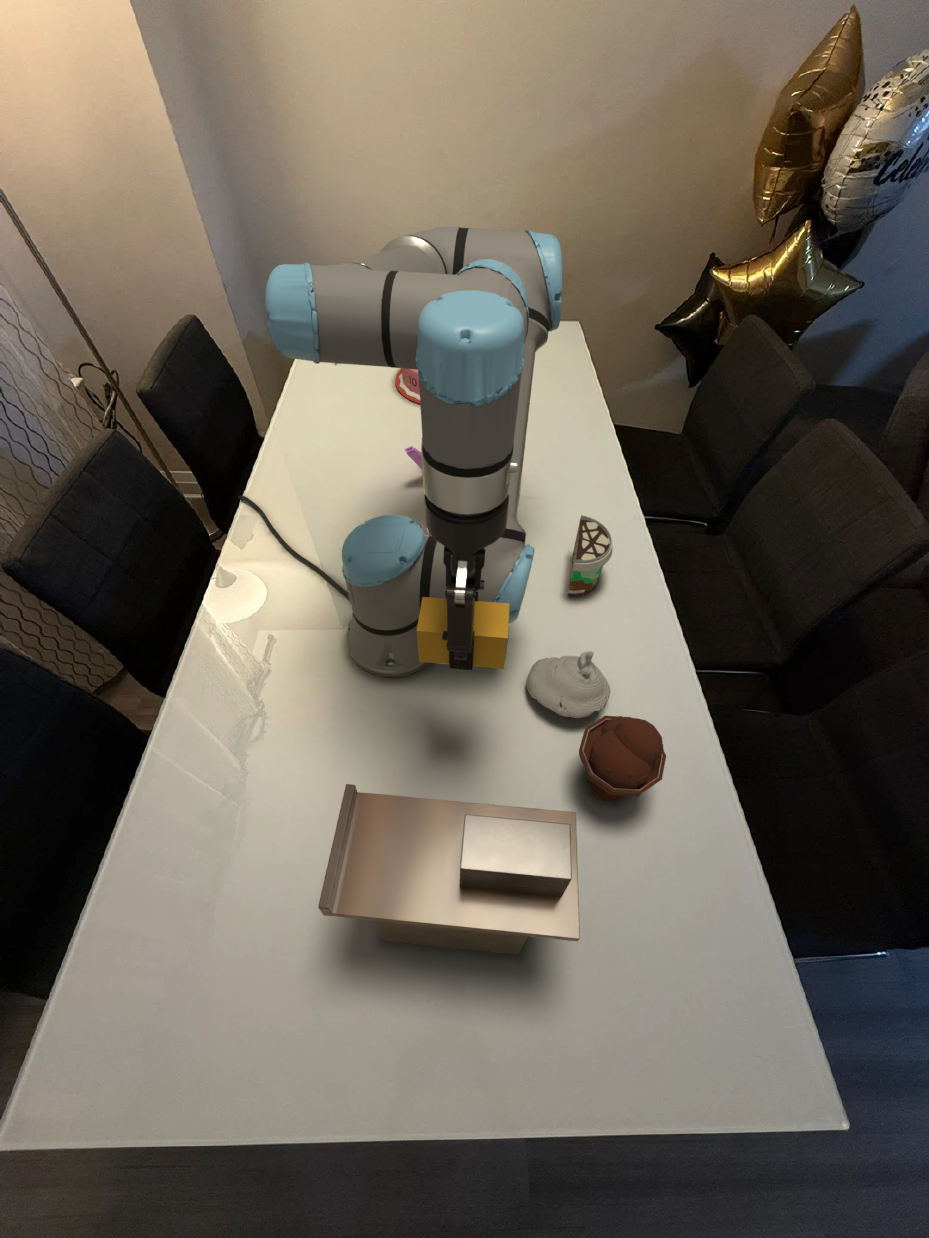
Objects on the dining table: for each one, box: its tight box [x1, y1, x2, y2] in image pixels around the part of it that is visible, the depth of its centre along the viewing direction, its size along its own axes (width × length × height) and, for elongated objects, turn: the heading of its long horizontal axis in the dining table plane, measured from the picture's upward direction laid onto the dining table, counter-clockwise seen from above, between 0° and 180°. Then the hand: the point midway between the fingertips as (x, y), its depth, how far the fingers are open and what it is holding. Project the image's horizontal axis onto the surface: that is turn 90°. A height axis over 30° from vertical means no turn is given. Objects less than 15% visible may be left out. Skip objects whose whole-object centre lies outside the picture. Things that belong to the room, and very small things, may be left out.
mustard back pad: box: [417, 597, 510, 670], centre depth 67 cm, size 10×5×6 cm, turn 85°
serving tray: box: [318, 783, 581, 955], centre depth 63 cm, size 24×12×23 cm, turn 85°
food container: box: [566, 515, 614, 597], centre depth 102 cm, size 12×6×10 cm, turn 168°
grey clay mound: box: [526, 650, 611, 719], centre depth 87 cm, size 12×12×11 cm
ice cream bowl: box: [578, 715, 667, 802], centre depth 76 cm, size 11×11×15 cm
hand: (463, 647), depth 69 cm, fingers closed on mustard back pad, 5 cm apart
